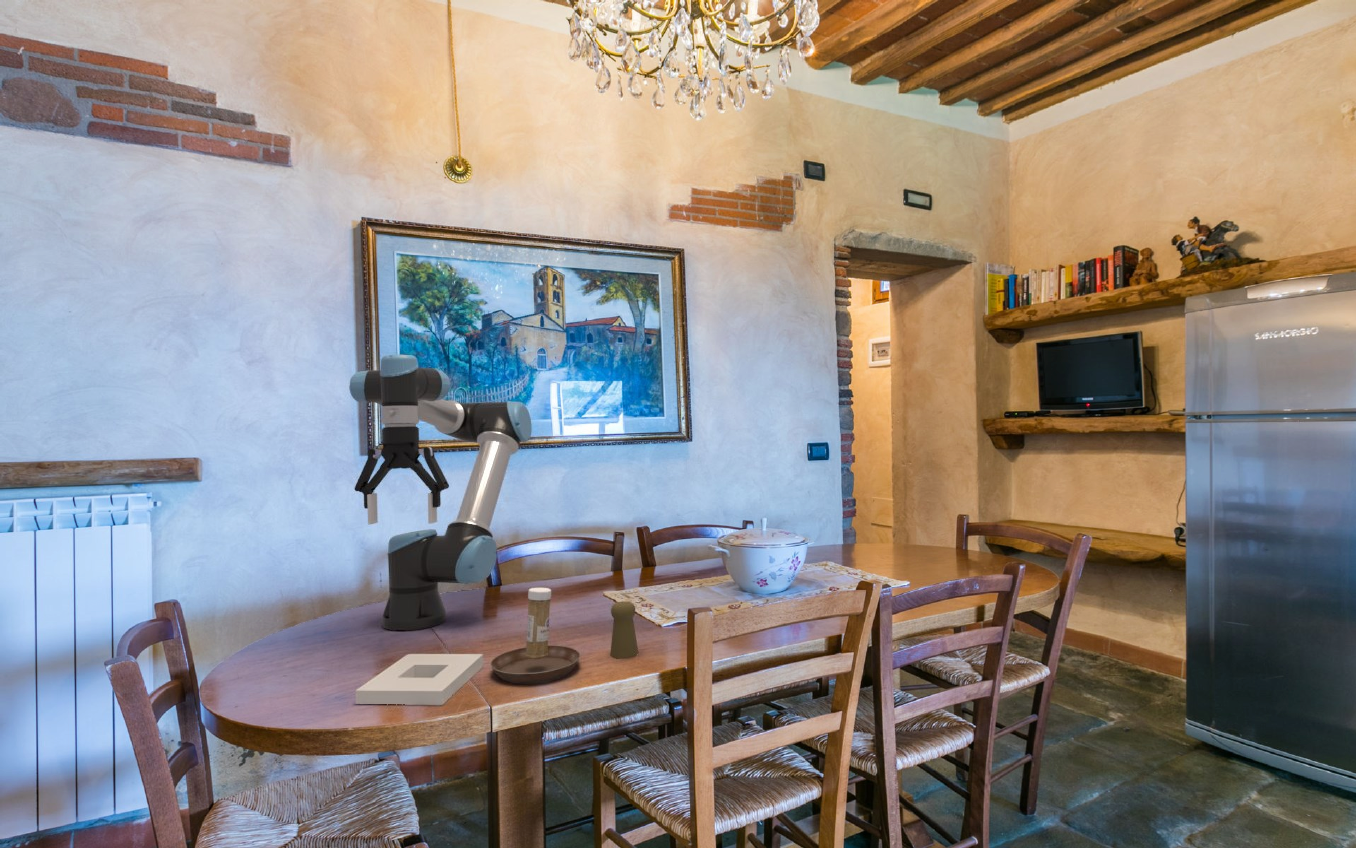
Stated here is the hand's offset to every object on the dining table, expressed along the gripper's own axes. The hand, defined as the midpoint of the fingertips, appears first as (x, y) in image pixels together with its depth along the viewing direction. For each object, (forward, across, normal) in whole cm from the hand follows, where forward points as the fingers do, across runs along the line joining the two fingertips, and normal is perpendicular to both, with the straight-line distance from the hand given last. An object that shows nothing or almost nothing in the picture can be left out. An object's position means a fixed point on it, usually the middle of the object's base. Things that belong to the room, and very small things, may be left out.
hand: (402, 523), depth 152 cm
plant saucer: (+29, +32, -9) cm, 44 cm away
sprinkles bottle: (+26, +32, -9) cm, 42 cm away
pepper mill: (+29, +48, +1) cm, 56 cm away
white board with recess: (+29, +12, -17) cm, 35 cm away
